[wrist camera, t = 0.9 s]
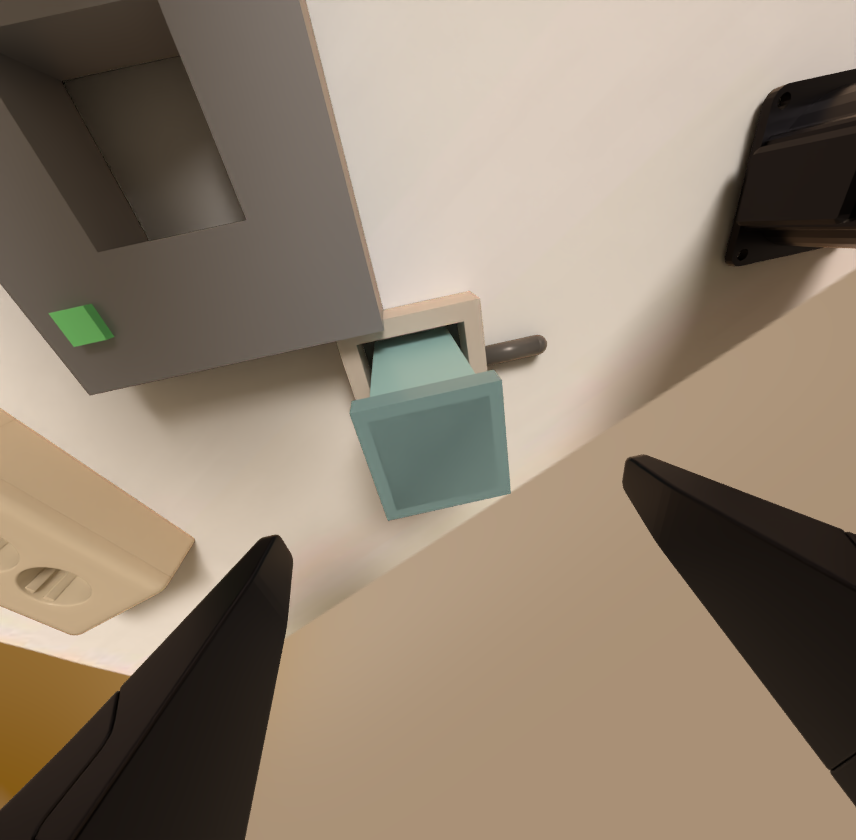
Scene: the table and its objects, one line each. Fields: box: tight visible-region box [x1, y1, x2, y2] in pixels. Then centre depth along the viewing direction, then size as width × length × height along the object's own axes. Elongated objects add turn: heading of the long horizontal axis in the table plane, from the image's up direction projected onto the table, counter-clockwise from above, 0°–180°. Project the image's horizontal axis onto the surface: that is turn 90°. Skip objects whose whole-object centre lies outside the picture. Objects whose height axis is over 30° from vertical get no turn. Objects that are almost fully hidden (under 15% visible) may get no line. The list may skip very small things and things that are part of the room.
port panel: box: [0, 0, 384, 395], centre depth 11 cm, size 12×14×3 cm
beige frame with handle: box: [336, 291, 547, 400], centre depth 16 cm, size 10×6×2 cm, turn 101°
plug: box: [350, 326, 511, 521], centre depth 14 cm, size 4×4×8 cm
